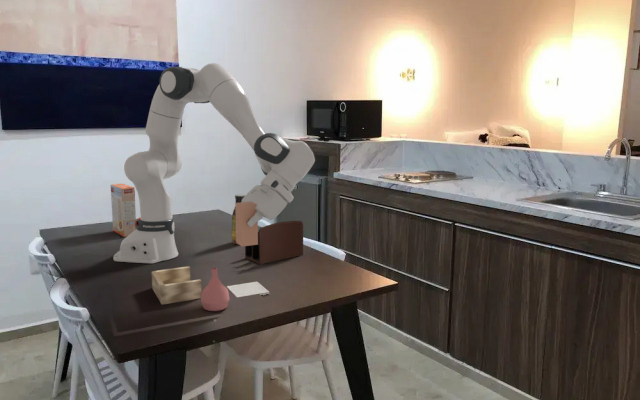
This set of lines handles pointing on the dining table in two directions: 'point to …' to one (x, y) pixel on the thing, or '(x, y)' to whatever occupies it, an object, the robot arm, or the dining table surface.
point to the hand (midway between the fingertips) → (244, 222)
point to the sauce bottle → (238, 200)
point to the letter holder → (277, 242)
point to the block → (245, 224)
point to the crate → (175, 285)
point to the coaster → (248, 289)
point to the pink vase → (215, 294)
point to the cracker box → (123, 209)
